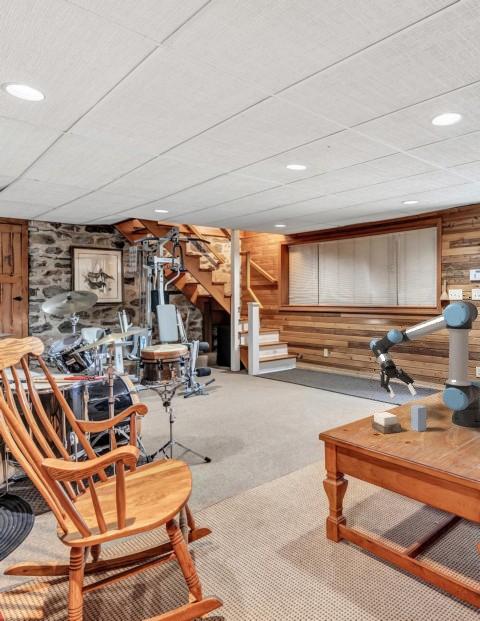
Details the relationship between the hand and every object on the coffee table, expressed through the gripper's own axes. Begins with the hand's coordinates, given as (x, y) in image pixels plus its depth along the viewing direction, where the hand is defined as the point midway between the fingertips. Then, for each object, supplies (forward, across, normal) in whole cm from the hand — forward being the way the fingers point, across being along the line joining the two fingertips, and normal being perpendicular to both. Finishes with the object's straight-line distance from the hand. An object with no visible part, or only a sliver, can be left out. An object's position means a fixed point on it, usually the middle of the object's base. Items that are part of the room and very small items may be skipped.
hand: (404, 396), depth 220 cm
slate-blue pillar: (+18, 0, -3) cm, 18 cm away
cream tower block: (+11, +15, -4) cm, 20 cm away
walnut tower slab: (+14, +15, -7) cm, 22 cm away
